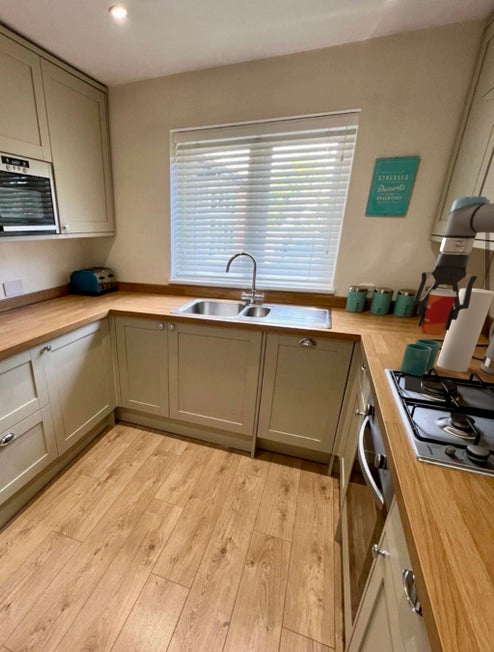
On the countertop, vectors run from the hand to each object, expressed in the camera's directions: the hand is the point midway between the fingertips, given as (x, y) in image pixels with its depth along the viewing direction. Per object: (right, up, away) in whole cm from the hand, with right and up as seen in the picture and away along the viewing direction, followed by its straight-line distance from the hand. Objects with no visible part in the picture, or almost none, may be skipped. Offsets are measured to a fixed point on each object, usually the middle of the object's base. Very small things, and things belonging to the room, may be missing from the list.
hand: (433, 327), depth 107 cm
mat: (0, -20, +3) cm, 20 cm away
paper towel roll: (+23, -14, +20) cm, 33 cm away
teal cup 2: (+10, -14, +20) cm, 26 cm away
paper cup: (0, -2, +1) cm, 2 cm away
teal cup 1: (+3, -16, +14) cm, 21 cm away
